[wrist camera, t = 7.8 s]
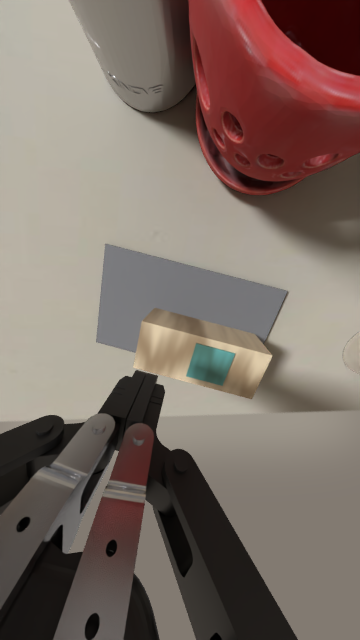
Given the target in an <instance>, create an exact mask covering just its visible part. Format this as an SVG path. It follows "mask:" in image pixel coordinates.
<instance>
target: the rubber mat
mask: <svg viewBox="0 0 360 640" xmlns="http://www.w3.org/2000/svg"><path fill="white" fill-rule="evenodd" d="M286 294H287V291H286V290H282V289H278V288H274V287H270V286H266V285H263V284H259V283H255V282H251V281H247V280H243V279H240V278H236V277H232V276H228V275H224V274H220V273H216V272H213V271H209V270H205V269H201V268H197V267H193V266H190V265H186V264H182V263H178V262H174V261H170V260H166V259H163V258H159V257H155V256H151V255H147V254H143V253H140V252H136V251H132V250H128V249H124V248H120V247H117V246H113V245H109V244H105V253H104V264H103V275H102V285H101V296H100V307H99V317H98V328H97V339H96V342H98V343H101V344H105V345H109V346H113V347H116V348H120V349H124V350H128V351H132V352H135V353H136V350H137V345H138V339H139V334H140V328H141V323H142V320H143V319H144V318H145V317H146V316H147V315H148V314H149V313H150V312H151V311H152V310H153V309H154V308H158V309H162V310H166V311H169V312H173V313H177V314H181V315H185V316H188V317H192V318H196V319H200V320H204V321H207V322H211V323H215V324H219V325H223V326H226V327H230V328H234V329H238V330H242V331H245V332H249V333H253V334H255V335H256V336H257V337H258V339H259V340H260V341H261V342H262V343H263V344H264V342H265V340H266V338H267V336H268V333H269V331H270V329H271V327H272V324H273V322H274V320H275V318H276V316H277V313H278V311H279V309H280V307H281V305H282V302H283V300H284V298H285V296H286Z"/></svg>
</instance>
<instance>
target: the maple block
mask: <svg viewBox="0 0 360 640" xmlns="http://www.w3.org/2000/svg"><path fill="white" fill-rule="evenodd" d="M272 356H273V355H272V354H271V353H270V352H269V351H268V349H267V348H266V347H265V346H264V345H263V343H262V342H261V341H260V340H259V339H258V337H257V336H256V335H255V334H253V333H249V332H245V331H242V330H238V329H234V328H230V327H226V326H223V325H219V324H215V323H211V322H207V321H204V320H200V319H196V318H192V317H188V316H185V315H181V314H177V313H173V312H169V311H166V310H162V309H158V308H154V309H153V310H152V311H151V312H150V313H149V314H148V315H147V316H146V317H145V318H144V319H143V320H142V323H141V328H140V334H139V339H138V345H137V350H136V356H135V361H134V367H133V368H137V369H141V370H144V371H148V372H152V373H156V374H159V375H163V376H167V377H171V378H174V379H178V380H182V381H186V382H189V383H193V384H197V385H201V386H204V387H208V388H212V389H216V390H219V391H223V392H227V393H231V394H234V395H238V396H242V397H246V398H249V399H252V398H253V395H254V393H255V391H256V389H257V387H258V385H259V383H260V381H261V379H262V377H263V375H264V373H265V371H266V369H267V367H268V364H269V362H270V360H271V358H272Z"/></svg>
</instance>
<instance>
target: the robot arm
mask: <svg viewBox="0 0 360 640" xmlns="http://www.w3.org/2000/svg"><path fill="white" fill-rule="evenodd" d="M69 1H70V4H71V6H72V8H73V10H74V12H75V14H76V16H77V18H78V20H79V23H80V25H81V27H82V29H83V31H84V33H85V35H86V37H87V39H88V41H89V43H90V45H91V47H92V49H93V52H94V54H95V56H96V58H97V60H98V62H99V64H100V66H101V68H102V70H103V72H104V74H105V76H106V78H107V80H108V82H109V83H110V85H111V87H112V88H113V90H114V91H115V92H116V93H117V95H118V96H119V97H120V98H121V99H122V100H123V101H124V102H126V103H127V104H128V105H130V106H131V107H133V108H136V109H138V110H141V111H145V112H158V111H163V110H166V109H168V108H170V107H172V106H174V105H176V104H177V103H178V102H179V101H181V100H182V99H183V98H184V97H185V96H186V95H187V94H188V93H189V91H190V90H191V89H192V88H193V86H194V85H195V83H196V81H195V75H194V68H193V60H192V50H191V39H190V25H189V2H188V0H69ZM157 378H158V376H157V375H153V374H150V373H145V372H142V371H138V370H136V371H135V373H134V374H133V376H132V377H128V376H125V377H123V378H122V379H120V380H119V382H118V383H117V385H116V386H115V388H114V389H113V391H112V393H111V394H110V395H109V397H108V398H107V400H106V401H105V403H104V405H103V406H102V408H101V409H100V411H99V412H98V414H96V415H94V416H92V417H90V418H89V419H88V420H87V421H86V422H83V423H77V424H64V421H63V419H62V418H61V417H59V416H56V415H48V416H44V417H41V418H39V419H36V420H34V421H31V422H29V423H26V424H24V425H22V426H19V427H17V428H14V429H12V430H9V431H7V432H4V433H2V434H0V640H159V635H158V631H157V626H156V622H155V618H154V613H153V610H152V607H151V603H150V600H149V598H148V595H147V593H146V591H145V589H144V587H143V585H142V583H141V582H140V580H139V579H138V577H137V576H136V575H135V574H134V568H135V562H136V556H137V549H138V543H139V537H140V530H141V523H142V517H143V510H144V505H145V500H147V501H148V502H149V503H150V504H151V505H153V510H154V513H155V517H156V519H157V522H158V526H159V529H160V532H161V534H162V537H163V540H164V543H165V547H166V550H167V553H168V556H169V559H170V562H171V565H172V567H173V571H174V574H175V577H176V580H177V583H178V586H179V589H180V592H181V595H182V598H183V601H184V604H185V607H186V610H187V613H188V616H189V619H190V622H191V625H192V628H193V631H194V634H195V637H196V640H298V639H297V637H296V636H295V634H294V632H293V630H292V629H291V627H290V625H289V624H288V622H287V620H286V618H285V617H284V615H283V613H282V611H281V610H280V608H279V606H278V605H277V603H276V601H275V599H274V598H273V596H272V594H271V592H270V591H269V589H268V587H267V586H266V584H265V582H264V580H263V579H262V577H261V575H260V574H259V572H258V570H257V568H256V567H255V565H254V563H253V561H252V560H251V558H250V556H249V555H248V553H247V551H246V550H245V547H244V546H243V544H242V542H241V541H240V539H239V537H238V535H237V534H236V532H235V531H234V528H233V527H232V525H231V523H230V522H229V520H228V518H227V517H226V515H225V513H224V511H223V509H222V508H221V506H220V504H219V503H218V501H217V499H216V498H215V496H214V494H213V492H212V490H211V489H210V487H209V485H208V483H207V482H206V480H205V478H204V477H203V475H202V473H201V471H200V470H199V468H198V466H197V464H196V463H195V461H194V460H193V458H192V456H191V455H190V454H189V453H188V452H186V451H184V450H182V449H175V450H172V451H170V450H169V449H168V448H166V447H165V446H163V445H162V444H161V443H160V441H159V440H158V438H157V435H156V428H157V423H158V419H159V415H160V411H161V407H162V403H163V399H164V394H165V390H164V386H163V385H159V384H156V382H157ZM115 450H117V451H119V453H118V456H117V459H116V462H115V465H114V468H113V471H112V474H111V477H110V479H109V482H108V485H107V486H106V488H105V490H104V492H103V495H102V498H101V501H100V504H99V507H98V510H97V512H96V515H95V518H94V521H93V524H92V527H91V530H90V533H89V536H88V539H87V542H86V545H85V548H84V551H83V552H77V553H71V554H68V552H69V550H70V548H71V546H72V544H73V541H74V539H75V537H76V534H77V531H78V529H79V526H80V523H81V521H82V518H83V516H84V514H85V512H86V510H87V508H88V506H89V504H90V502H91V500H92V498H93V496H94V494H95V492H96V490H97V488H98V486H99V484H100V482H101V480H102V478H103V476H104V474H105V472H106V470H107V468H108V465H109V462H110V460H111V458H112V455H113V453H114V451H115ZM25 528H26V529H25Z"/></svg>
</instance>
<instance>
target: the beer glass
mask: <svg viewBox="0 0 360 640" xmlns="http://www.w3.org/2000/svg"><path fill="white" fill-rule="evenodd" d="M343 360H344V363H345V365H346V366H347V367H348V368H349V369H350V370H352V371H353V372H355V373H357V374H359V375H360V332H359V333H357V334H356V335H354V336H353V337H352V338H351V339H350V340H349V341H348V343H347V344H346V346H345V348H344V351H343Z"/></svg>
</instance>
